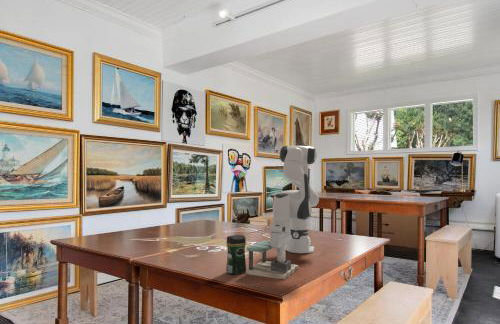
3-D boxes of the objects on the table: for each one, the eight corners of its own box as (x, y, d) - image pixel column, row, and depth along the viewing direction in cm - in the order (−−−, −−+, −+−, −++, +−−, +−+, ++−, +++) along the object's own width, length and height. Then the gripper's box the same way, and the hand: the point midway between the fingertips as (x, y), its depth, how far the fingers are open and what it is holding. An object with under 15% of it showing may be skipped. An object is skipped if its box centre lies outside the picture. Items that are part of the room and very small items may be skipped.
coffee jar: (239, 269, 176) (239, 233, 177) (248, 272, 170) (248, 235, 171) (223, 272, 171) (223, 234, 171) (232, 276, 164) (232, 237, 165)
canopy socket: (262, 264, 186) (262, 240, 186) (297, 269, 177) (298, 243, 178) (246, 273, 168) (247, 247, 168) (285, 279, 159) (285, 251, 160)
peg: (278, 264, 171) (279, 240, 172) (286, 265, 170) (286, 241, 170) (276, 266, 168) (276, 241, 168) (283, 267, 166) (283, 242, 167)
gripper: (282, 223, 180) (282, 249, 180) (267, 228, 162) (267, 258, 161) (293, 224, 178) (293, 250, 177) (280, 229, 159) (280, 259, 159)
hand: (281, 254), depth 169 cm, fingers closed on peg, 4 cm apart
